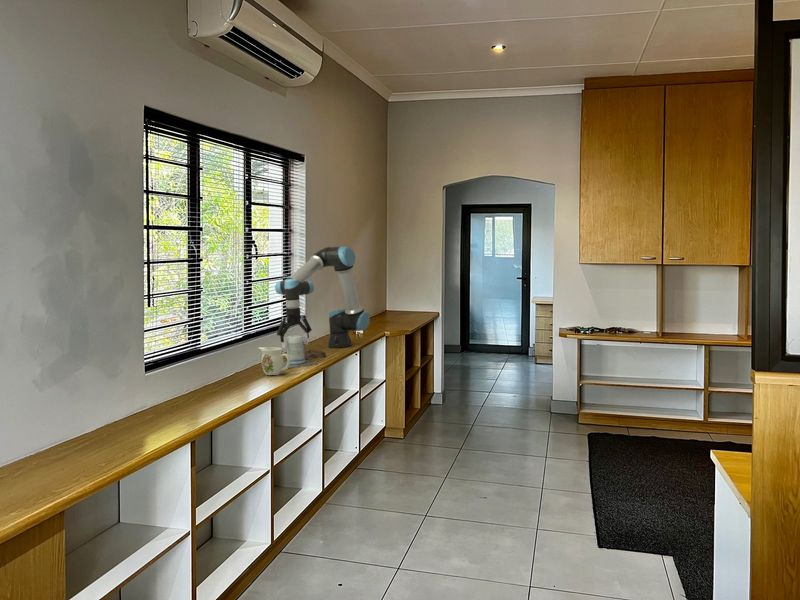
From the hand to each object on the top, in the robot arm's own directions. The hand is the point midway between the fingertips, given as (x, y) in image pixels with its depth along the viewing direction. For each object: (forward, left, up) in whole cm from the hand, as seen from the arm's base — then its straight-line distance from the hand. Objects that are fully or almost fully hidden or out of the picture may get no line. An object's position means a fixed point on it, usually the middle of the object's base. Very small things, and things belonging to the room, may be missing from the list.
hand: (295, 346), depth 377 cm
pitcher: (+22, +18, -10) cm, 30 cm away
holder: (-16, -16, -10) cm, 24 cm away
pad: (0, 0, -10) cm, 10 cm away
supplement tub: (0, 0, -10) cm, 10 cm away
